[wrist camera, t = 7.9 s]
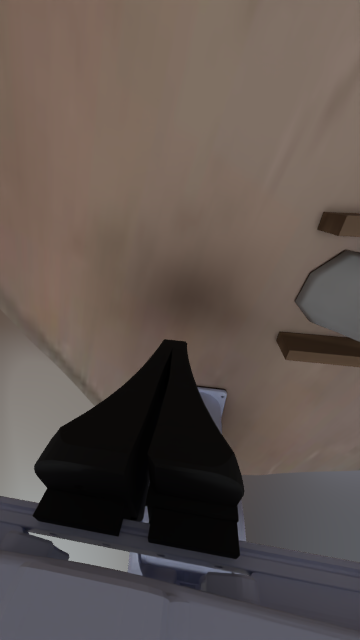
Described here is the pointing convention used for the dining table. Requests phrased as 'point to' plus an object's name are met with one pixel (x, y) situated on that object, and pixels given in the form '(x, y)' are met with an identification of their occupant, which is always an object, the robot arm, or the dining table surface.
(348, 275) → the flask
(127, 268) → the dining table surface
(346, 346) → the corral
